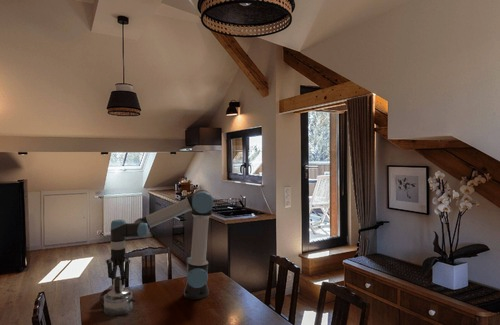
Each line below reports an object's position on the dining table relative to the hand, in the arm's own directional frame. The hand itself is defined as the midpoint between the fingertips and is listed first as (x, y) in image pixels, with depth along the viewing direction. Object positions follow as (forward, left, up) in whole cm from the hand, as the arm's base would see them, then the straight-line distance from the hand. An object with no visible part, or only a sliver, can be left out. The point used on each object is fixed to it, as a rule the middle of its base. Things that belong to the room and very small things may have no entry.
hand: (118, 290), depth 190 cm
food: (+11, -15, -11) cm, 21 cm away
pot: (0, 0, -11) cm, 11 cm away
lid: (0, 0, -2) cm, 2 cm away
